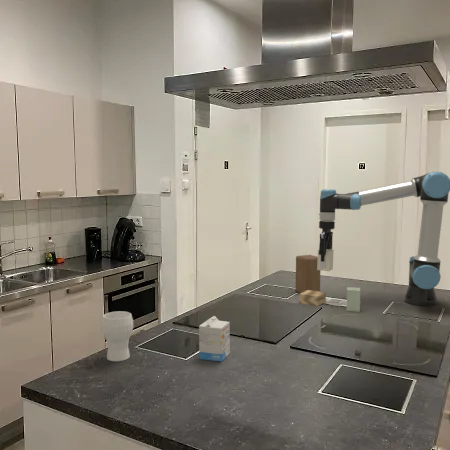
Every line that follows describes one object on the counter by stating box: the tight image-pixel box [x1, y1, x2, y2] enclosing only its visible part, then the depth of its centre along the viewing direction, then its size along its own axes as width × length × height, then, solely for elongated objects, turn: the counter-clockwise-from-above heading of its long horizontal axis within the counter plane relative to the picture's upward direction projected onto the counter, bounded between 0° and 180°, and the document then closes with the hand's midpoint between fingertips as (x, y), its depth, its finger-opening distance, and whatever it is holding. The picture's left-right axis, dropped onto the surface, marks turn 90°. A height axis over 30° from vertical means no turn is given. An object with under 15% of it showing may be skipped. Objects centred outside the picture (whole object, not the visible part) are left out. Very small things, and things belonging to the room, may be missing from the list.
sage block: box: [345, 286, 361, 313], centre depth 218 cm, size 6×6×10 cm
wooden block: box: [295, 254, 321, 294], centre depth 251 cm, size 10×10×20 cm
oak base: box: [298, 290, 327, 307], centre depth 232 cm, size 10×10×5 cm
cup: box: [101, 310, 134, 362], centre depth 160 cm, size 11×11×15 cm
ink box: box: [198, 315, 231, 362], centre depth 161 cm, size 9×8×13 cm
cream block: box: [317, 248, 334, 272], centre depth 230 cm, size 6×6×10 cm
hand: (325, 266), depth 231 cm, fingers closed on cream block, 6 cm apart
